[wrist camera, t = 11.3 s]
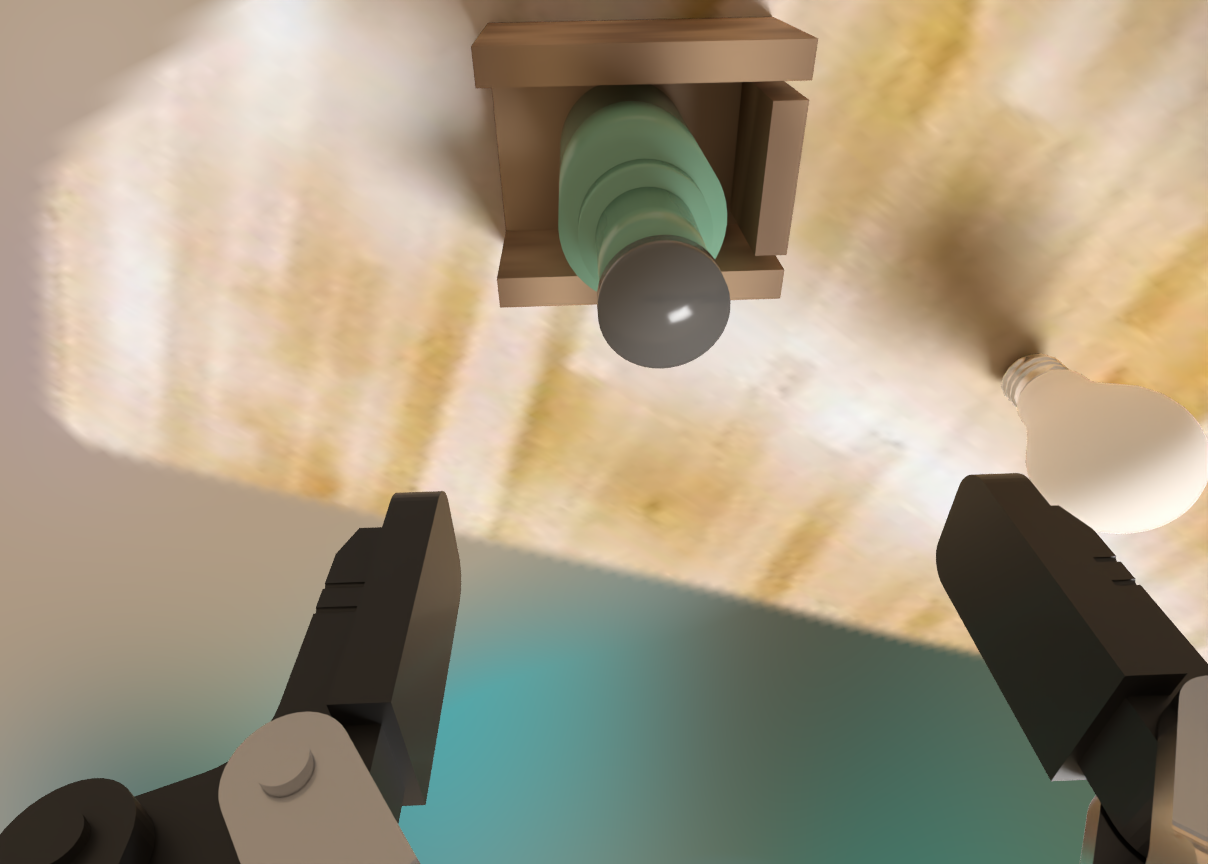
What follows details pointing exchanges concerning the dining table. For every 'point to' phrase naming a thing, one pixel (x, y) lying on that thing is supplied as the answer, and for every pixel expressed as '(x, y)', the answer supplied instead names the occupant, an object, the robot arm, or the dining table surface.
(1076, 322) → the dining table surface
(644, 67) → the brown open-sided frame
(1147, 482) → the light bulb
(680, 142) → the bottle
